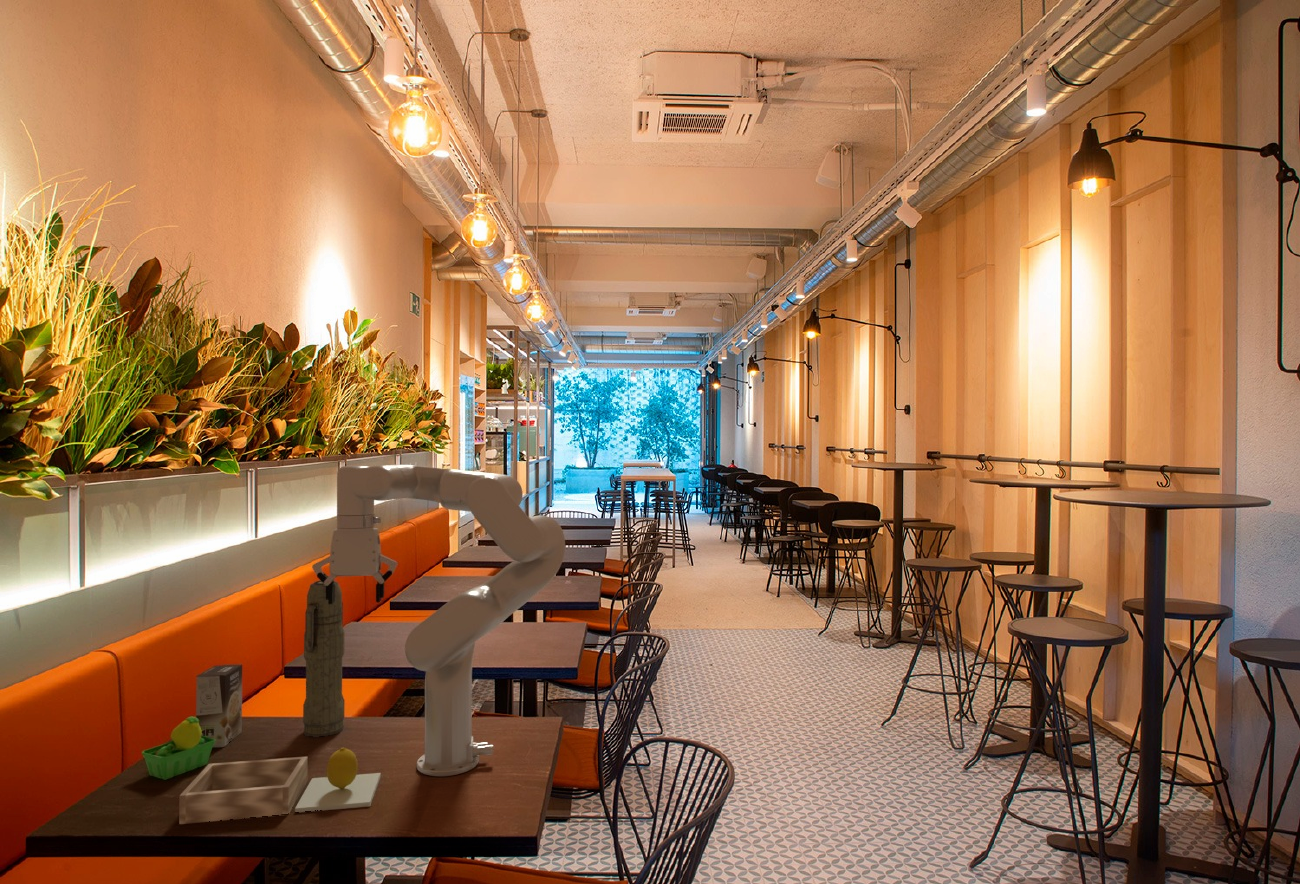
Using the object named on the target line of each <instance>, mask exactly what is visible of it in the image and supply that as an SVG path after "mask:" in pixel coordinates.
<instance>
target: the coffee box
mask: <svg viewBox="0 0 1300 884" xmlns="http://www.w3.org/2000/svg"><path fill="white" fill-rule="evenodd" d="M195 689H196V691H195V692H196V694H195V695H196V696H195V697H196V700H195V701H196V703H195V705H196V706H195V707H196V708H195V709H196V710H195V717H196V718H198V720H199V726H200V728H201V731H202V736H206V737H209V738H212V739H215V743H214V745H213V747H212V748H224V747H226V746H227V745H228V744H230V743H231V742H232V741H234V740H235V739H236V738H237V737H238V736H239V735H240V734H242V733H243V732H242V731H243V730H242V728H243V726H242V723H243V720H242V718H243V716H242V715H243V664H223V665H222V664H221V665H214V666H212V667H210V668H208V669H206V670H205V671H203V672H201V673H199V674H198V675H196V688H195ZM230 741H231V742H230ZM229 742H230V743H229Z"/></svg>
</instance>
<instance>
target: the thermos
mask: <svg viewBox="0 0 1300 884" xmlns="http://www.w3.org/2000/svg"><path fill="white" fill-rule="evenodd" d="M333 583H334V584H335V602H333V603H332V604H328V600H326V586H325V585H324V583H323V582H322V581H321V580H316V581H314V582H313V583H310V586H309V588H308V592H307V594H306V609H305V614H304V615H305V619H304V620H305V622H304V623H305V624H304V625H305V626H304V627H305V628H304V629H305V631H304V634H303V658H304V660H305V698H304V701H303V705H302V707H303V708H302V710H303V713H302V715H303V717H302V722H303V727H304V728H303V734H304V736H306V735H307V736H306V737H309V736H313V737H312V738H320V737H319V736H325V737H329V736H328V735H330V736H333V735H336V734H338V733H340V732H342V731H343V730H344V729H345V726H344V719H345V705H346V704H345V703H346V702H345V698H344V696H343V657H344V655H345V629H344V627H343V626H344V625H343V623H344V613H343V612H344V609H343V608H344V602H343V601H342V600H343V594H342V593H343V592H342V590H341V586H340V584H339V582H338V581H336V580H335V579H334V580H333Z"/></svg>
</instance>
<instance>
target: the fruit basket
mask: <svg viewBox="0 0 1300 884" xmlns="http://www.w3.org/2000/svg"><path fill="white" fill-rule="evenodd" d="M170 739H171V741H167V742H165V743H163V744H160V745H157V746H153V747H151V748H150V747H149V748H148V749H144V750H143V751H141V755H142V756H143V758H144V761H145V764H146V767H147V770H148V774H149V776H151V777H155V778H157V779H162V780H165V781H166V780H169V779H172V778H173V777H176V776H179V775H182V774H185V773H186V772H190V771H193V770H195V769H197V768H201V767H204V766H207V765H208V764H209V763H208V762H209V759H210V756H211V752H212V749H213V748H214V747H213V745H214V743H215V739H212V738H209V737H206V736H202V731H201V728H200V726H199V720H198V718H196V716H189V717H186V718H185V720H183V721H181V722H180V723H179V724H178V725H177V726H176V727H175V728H173V729H172V731H171V734H170Z"/></svg>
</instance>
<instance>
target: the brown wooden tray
mask: <svg viewBox="0 0 1300 884" xmlns="http://www.w3.org/2000/svg"><path fill="white" fill-rule="evenodd" d="M308 760H309V758H308V756H296V757H283V758H282V757H281V758H270V759H269V758H268V759H267V758H266V759H255V760H243V761H231V762H230V761H228V762H217V763H216V762H215V763H207V764H206V765H205V768H204V769H203V770H201V772H200V773H199V774H198V775H197V776H196V777H195V778H194V779H193V780H192V781H191V782H190V784H189V785H187V787H186V788H185V789H184V790H183V791H182V792H181V793H180V794H179V804H178V809H179V811H178V812H179V813H178V814H179V815H178V816H179V817H178V822H179V824H178V825H185V824H196V823H197V824H198V823H206V822H207V823H208V822H209V821H210V822H220V820H222V821H230V819H233V820H243V819H244V818H245V819H251V818H250V817H256V818H263V817H262V816H268V817H273V816H272V815H279V816H282V815H281V814H288V813H289V814H290V812H291V811H292V810H293V808H292V807H294V806H295V804H296V803H297V801H298V799H299V798H300V796H301V794H302V792H303V790H304V789H305V786H306V785H307V783H308V767H309V765H308Z"/></svg>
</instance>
